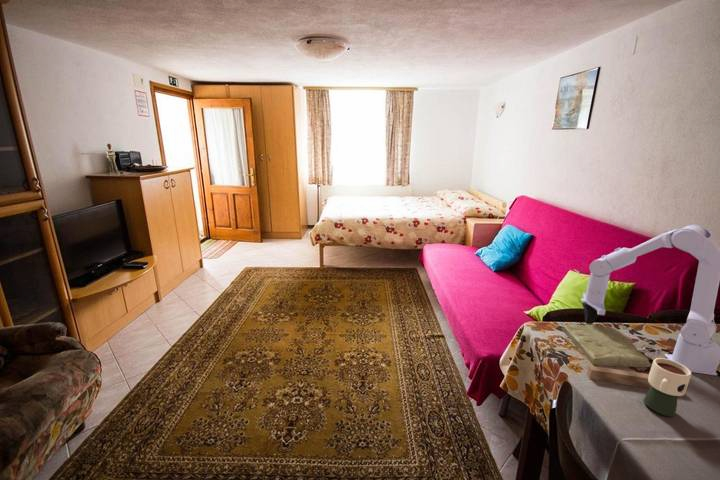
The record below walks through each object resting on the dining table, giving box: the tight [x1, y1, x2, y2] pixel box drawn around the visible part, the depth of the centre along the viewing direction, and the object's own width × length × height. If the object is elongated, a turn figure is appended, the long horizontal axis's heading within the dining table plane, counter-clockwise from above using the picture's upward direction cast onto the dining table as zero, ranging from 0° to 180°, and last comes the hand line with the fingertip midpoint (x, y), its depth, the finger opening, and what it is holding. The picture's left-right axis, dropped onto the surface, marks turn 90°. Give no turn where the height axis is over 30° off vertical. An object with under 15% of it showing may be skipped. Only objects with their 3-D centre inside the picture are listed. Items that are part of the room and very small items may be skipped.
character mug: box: [643, 357, 693, 417], centre depth 84 cm, size 11×7×13 cm, turn 127°
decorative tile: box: [561, 323, 651, 368], centre depth 111 cm, size 19×20×4 cm
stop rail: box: [586, 365, 651, 389], centre depth 94 cm, size 22×2×3 cm, turn 76°
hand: (588, 322), depth 123 cm, fingers closed
